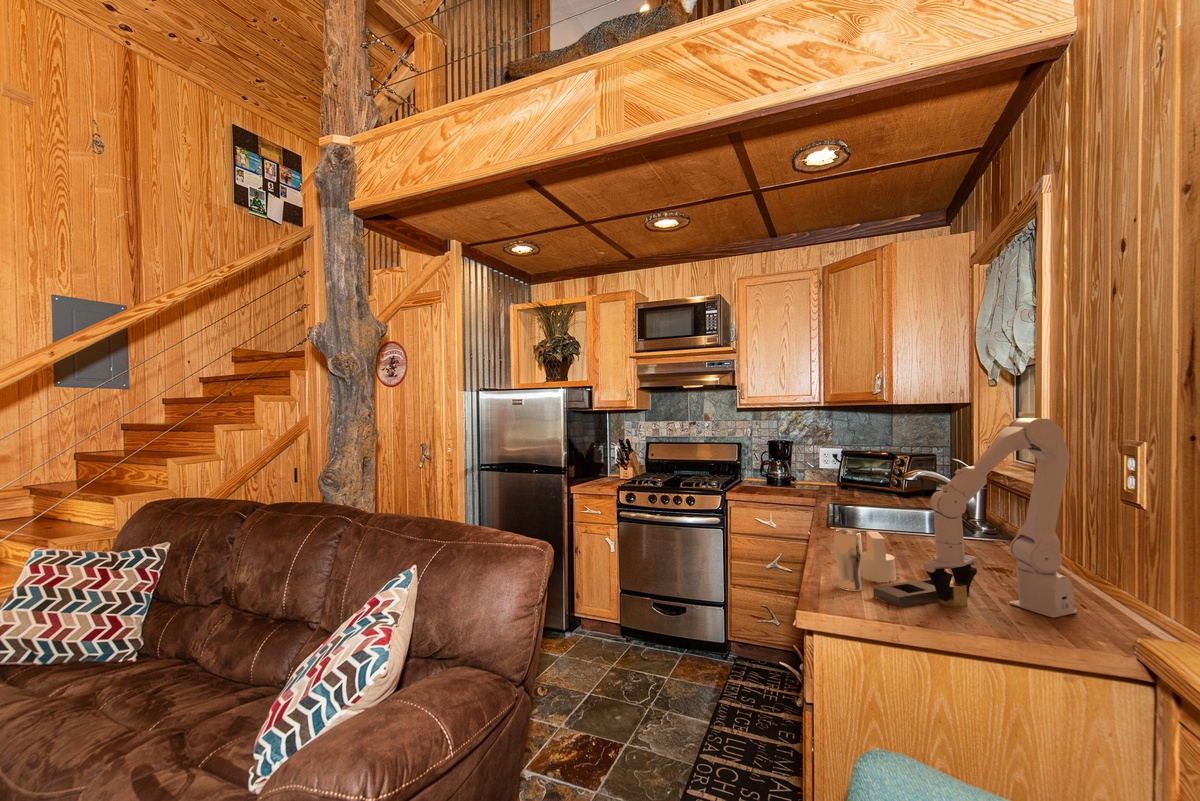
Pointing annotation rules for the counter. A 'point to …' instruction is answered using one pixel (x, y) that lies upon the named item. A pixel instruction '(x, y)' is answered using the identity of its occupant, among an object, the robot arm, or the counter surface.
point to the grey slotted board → (908, 593)
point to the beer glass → (848, 558)
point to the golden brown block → (956, 595)
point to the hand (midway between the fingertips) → (953, 598)
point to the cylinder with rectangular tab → (877, 560)
